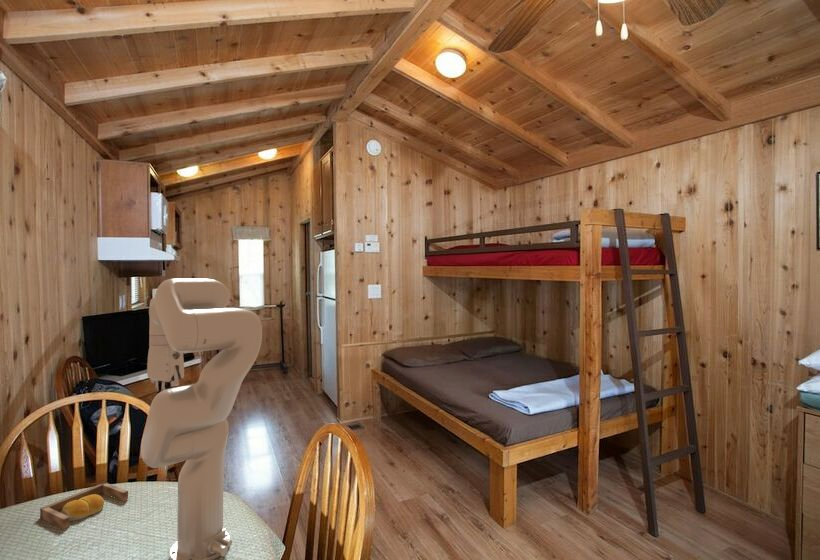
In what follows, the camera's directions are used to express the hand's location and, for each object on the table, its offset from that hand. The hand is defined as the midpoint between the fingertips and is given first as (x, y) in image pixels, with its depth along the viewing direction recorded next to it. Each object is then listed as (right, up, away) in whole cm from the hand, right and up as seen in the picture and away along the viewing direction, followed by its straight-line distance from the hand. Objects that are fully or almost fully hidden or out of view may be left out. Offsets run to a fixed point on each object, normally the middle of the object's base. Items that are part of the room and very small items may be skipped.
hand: (164, 404), depth 117 cm
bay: (-18, -27, -5) cm, 33 cm away
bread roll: (-18, -27, -6) cm, 33 cm away
